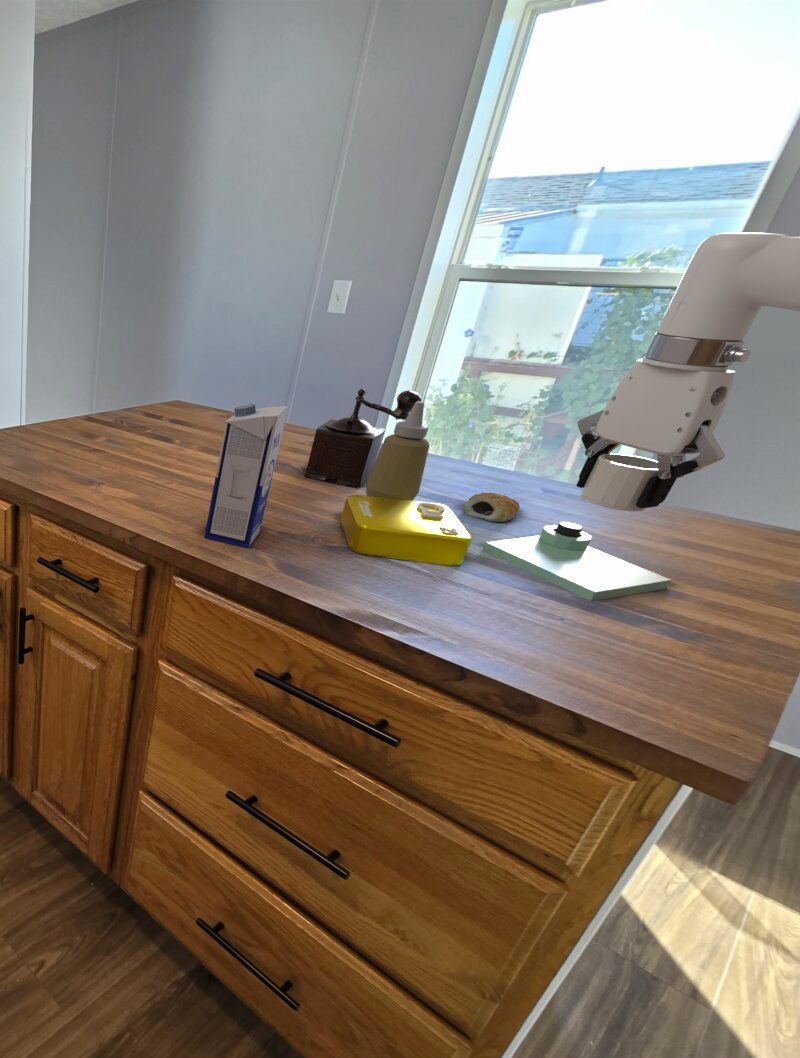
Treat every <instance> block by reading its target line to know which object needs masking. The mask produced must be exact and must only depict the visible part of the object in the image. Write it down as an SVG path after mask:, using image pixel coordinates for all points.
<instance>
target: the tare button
mask: <svg viewBox="0 0 800 1058" xmlns="http://www.w3.org/2000/svg"><path fill="white" fill-rule="evenodd" d="M581 531H583V526H581V524H577V523H574V522H570V521H560V522H559V523H558V527H557V529H556V531H555V532H556V533H558V534H561V535H564V536H568V537H576V538H577V537H579V535H580V533H581Z"/></svg>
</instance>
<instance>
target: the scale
mask: <svg viewBox="0 0 800 1058" xmlns="http://www.w3.org/2000/svg"><path fill="white" fill-rule="evenodd" d="M558 525H559V524H558ZM558 525H557V524H550V525H545V526H544V527H543V528H542V531H541V533H540V534H537V535H531V536H523V537H515V538H508V539H500V540H491V541H485V543H484V544H483V547H482V549H481V550H482V551H483V552H485V553H487V554H489V555H492V556H493V557H496V558H498V559H500V560H502V561H504V562H507V563H509V564H511V565H512V566H514V567H517V568H519V569H521V570H523V571H525V572H528V573H530V574H532V575H535V576H536V577H539V578H541V579H542V580H545V581H547V582H549V583H551V584H553V585H555V586H558V587H559V588H562V589H564V590H566V591H568V592H570V593H572V594H574V595H576V596H579V597H581V598H583V599H584V600H587V601H589V602H594V601H598V600H599V601H600V600H606V599H612V598H618V597H624V596H625V597H626V596H630V595H635V594H642V593H648V592H654V591H660V590H667V589H668V588H669V586H670V584H671V582H672V581H673V580H672V579H670V578H669V577H666V576H663V575H661V574H658V573H656V572H653V571H651V570H648V569H647V568H646V569H645V568H643V567H641V566H638V565H636V564H633V563H632V562H631V563H630V562H628V561H626V560H624V559H621V558H619V557H616V556H614V555H611V554H609V553H606V552H604V551H602V550H599V549H596V548H594V547H591V546H589V544H590V543H591V541H592V539H593V536H592V535H591V534H589V533H588V532H586V531H583V530H582V531H581V533H580V535H579V537H577V538H576V537H568V536H564V535H561V534H558V533H556V532H555V531H556V529H557V527H558Z"/></svg>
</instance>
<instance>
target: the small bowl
mask: <svg viewBox="0 0 800 1058" xmlns="http://www.w3.org/2000/svg"><path fill="white" fill-rule="evenodd" d="M657 475H658V460H655V459H651V458H647V457H643V456H638V455H631V454H626V453H612V452H610V453H609V454H602V455H600V456H599V457H598V459H597V462H596V464H595V466H594V468H593V470H592V472H591V474H590V476H589V478H588V480H587V482H586V484H585V486H584V488H582V490H581V493H580V498H581V499H582V500H584V501H585V502H588V503H590V504H591V505H595V506H599V507H603V508H606V509H609V510H610V509H611V510H616V511H624V512H643V511H645V510H646V509H647V508H639V507H637V505H636V503H637V501H638V499H639V497H640V496H641V494H642V492H643V490H644V488H645V486H646V484H647V482H648V481H649V479H650V478H651V477H655V476H657Z"/></svg>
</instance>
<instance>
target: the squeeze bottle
mask: <svg viewBox="0 0 800 1058" xmlns="http://www.w3.org/2000/svg"><path fill="white" fill-rule="evenodd" d="M424 408H425V401H421V402H419V401H417V402H415V404H414V406H413V408H412V409H411V411H410V412H409V414H408V416H407V418H406V419H405V420H403V421H397V422H396V424H395V427H394V429H393V433H392V434H390V435H388V436H385V438H384V439H383V441H382V442H383V443H382V445H381V446H380V448H379V451H378V454H377V458H376V461H375V463H374V466H373V468H372V470H371V473H370V475H369V477H368V480H367V482H366V483H365V488H366V490H365V491H366V496H373V497H382V498H391V499H400V500H409V501H414V500H415V499H416V497H417V496H418V495H419V493H420V488H421V485H422V480H423V476H424V471H425V467H426V463H427V458H428V453H429V450H430V442H429V441H428V440H427V439H426V437H427V434H428V431H429V426H428V425H427V424H424V423H423V422H424V421H423V420H424V410H425V409H424Z"/></svg>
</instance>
